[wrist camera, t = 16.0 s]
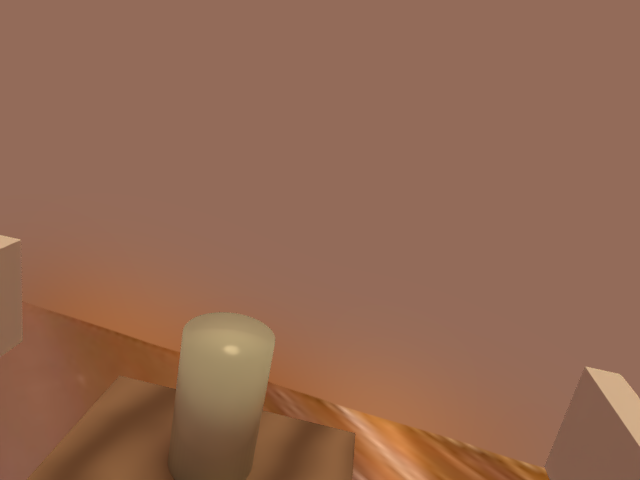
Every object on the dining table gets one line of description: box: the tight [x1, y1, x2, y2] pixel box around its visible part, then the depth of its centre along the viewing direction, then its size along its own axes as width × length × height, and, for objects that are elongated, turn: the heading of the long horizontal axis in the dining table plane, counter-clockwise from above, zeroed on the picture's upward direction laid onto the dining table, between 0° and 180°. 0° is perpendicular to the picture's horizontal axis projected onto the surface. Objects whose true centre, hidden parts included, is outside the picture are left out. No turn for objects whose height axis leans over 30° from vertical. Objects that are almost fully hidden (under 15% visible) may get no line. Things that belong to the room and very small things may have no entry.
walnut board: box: [27, 376, 355, 480], centre depth 39 cm, size 22×14×2 cm, turn 83°
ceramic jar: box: [168, 312, 275, 480], centre depth 37 cm, size 6×6×11 cm
